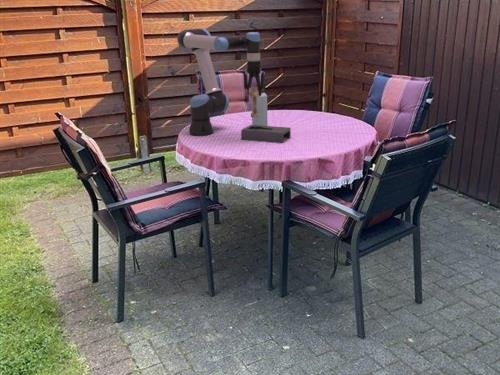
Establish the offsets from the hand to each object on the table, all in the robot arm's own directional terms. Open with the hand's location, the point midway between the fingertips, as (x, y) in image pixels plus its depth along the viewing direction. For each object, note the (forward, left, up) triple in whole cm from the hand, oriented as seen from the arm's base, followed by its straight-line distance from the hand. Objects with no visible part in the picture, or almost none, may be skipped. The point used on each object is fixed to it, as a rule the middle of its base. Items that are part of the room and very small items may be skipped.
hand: (254, 101), depth 300 cm
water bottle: (-7, +24, -22) cm, 34 cm away
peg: (0, 0, -9) cm, 9 cm away
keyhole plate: (+7, 0, -22) cm, 23 cm away
